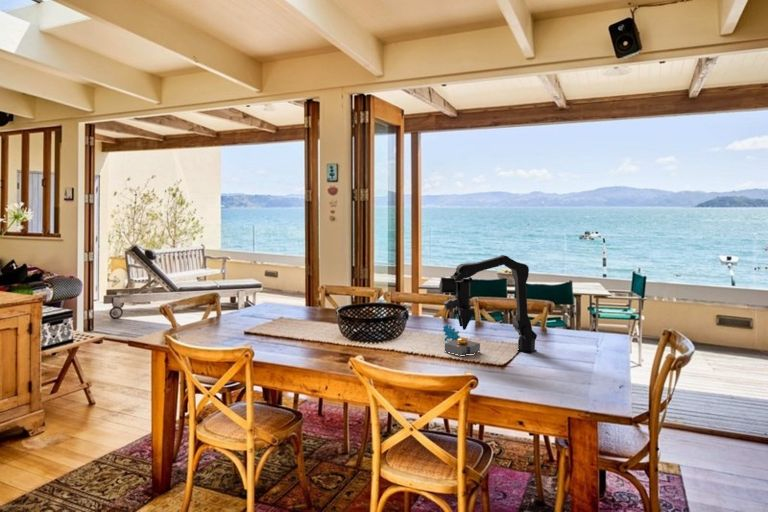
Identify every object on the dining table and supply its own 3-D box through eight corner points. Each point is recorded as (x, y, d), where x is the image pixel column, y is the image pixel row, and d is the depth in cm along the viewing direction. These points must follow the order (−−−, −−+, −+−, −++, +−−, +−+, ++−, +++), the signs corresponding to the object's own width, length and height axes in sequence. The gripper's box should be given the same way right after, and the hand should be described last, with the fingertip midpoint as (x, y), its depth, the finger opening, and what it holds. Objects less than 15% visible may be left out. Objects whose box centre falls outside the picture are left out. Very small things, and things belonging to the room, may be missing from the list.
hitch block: (481, 352, 217) (481, 343, 216) (463, 357, 209) (463, 348, 209) (460, 347, 226) (461, 338, 226) (442, 351, 218) (443, 342, 218)
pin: (469, 351, 217) (469, 339, 217) (462, 353, 214) (462, 340, 214) (461, 349, 220) (461, 337, 220) (455, 351, 218) (455, 338, 217)
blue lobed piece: (452, 341, 229) (441, 324, 234) (443, 348, 232) (433, 331, 237) (465, 340, 237) (455, 323, 242) (457, 347, 240) (447, 330, 245)
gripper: (441, 289, 224) (440, 323, 225) (449, 296, 205) (448, 333, 207) (465, 289, 225) (464, 323, 226) (475, 296, 206) (474, 332, 207)
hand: (462, 327), depth 216 cm, fingers open, 6 cm apart
